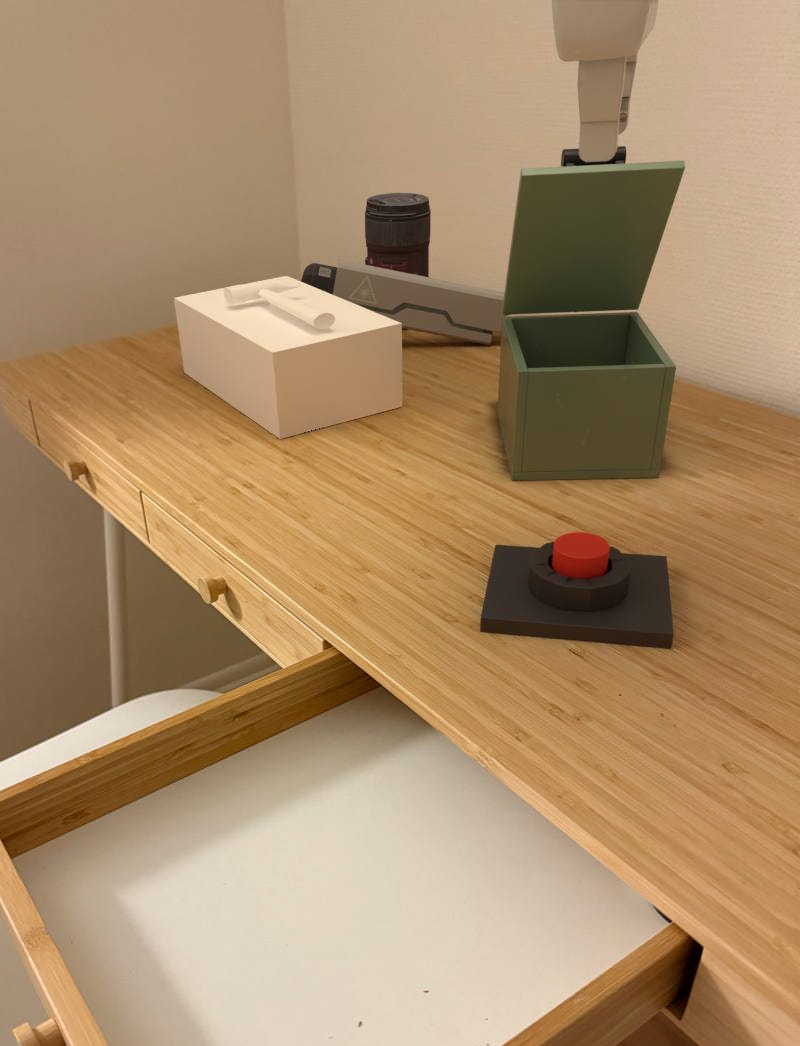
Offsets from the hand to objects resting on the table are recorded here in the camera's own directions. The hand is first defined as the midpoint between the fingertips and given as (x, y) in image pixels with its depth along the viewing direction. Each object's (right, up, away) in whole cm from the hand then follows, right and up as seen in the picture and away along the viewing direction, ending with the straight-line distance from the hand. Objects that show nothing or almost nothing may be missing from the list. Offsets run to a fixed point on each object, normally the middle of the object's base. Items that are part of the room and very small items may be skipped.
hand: (604, 145), depth 52 cm
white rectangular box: (-19, +1, +55) cm, 58 cm away
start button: (+2, -22, +12) cm, 25 cm away
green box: (+8, -8, +38) cm, 40 cm away
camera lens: (-5, +14, +73) cm, 74 cm away
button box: (+2, -25, +14) cm, 29 cm away
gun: (-5, +9, +65) cm, 66 cm away
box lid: (+7, +7, +31) cm, 32 cm away
